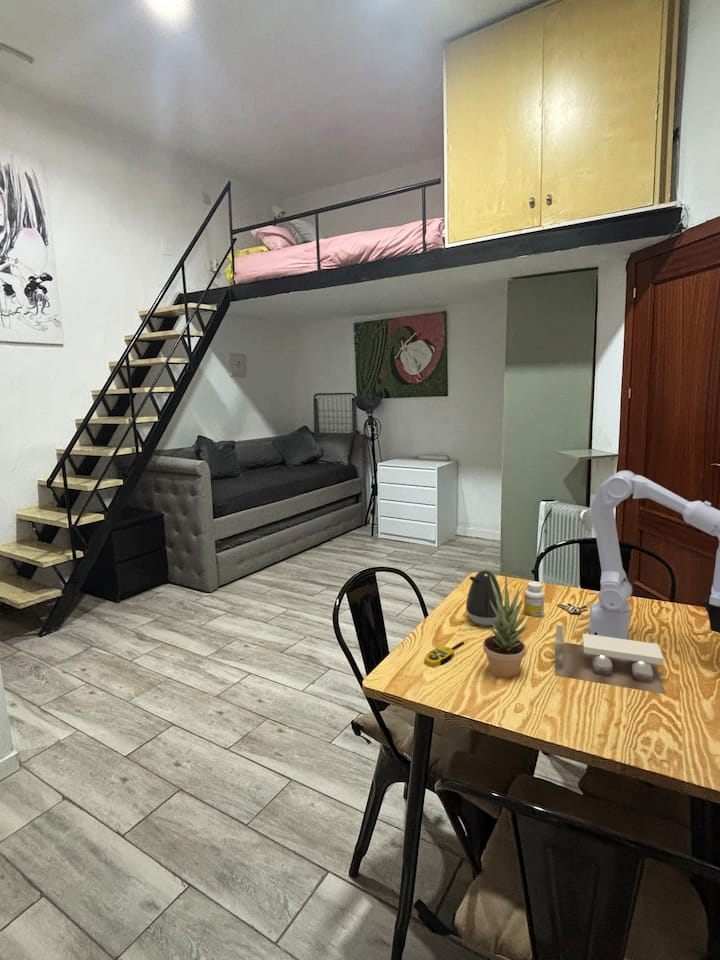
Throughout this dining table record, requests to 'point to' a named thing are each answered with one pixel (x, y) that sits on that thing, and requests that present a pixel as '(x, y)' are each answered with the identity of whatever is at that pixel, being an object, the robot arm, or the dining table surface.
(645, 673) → the roller
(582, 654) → the board
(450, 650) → the yellow walkie-talkie
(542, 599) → the supplement bottle
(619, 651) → the slab
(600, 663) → the roller
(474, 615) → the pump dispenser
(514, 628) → the potted plant
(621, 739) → the dining table surface
